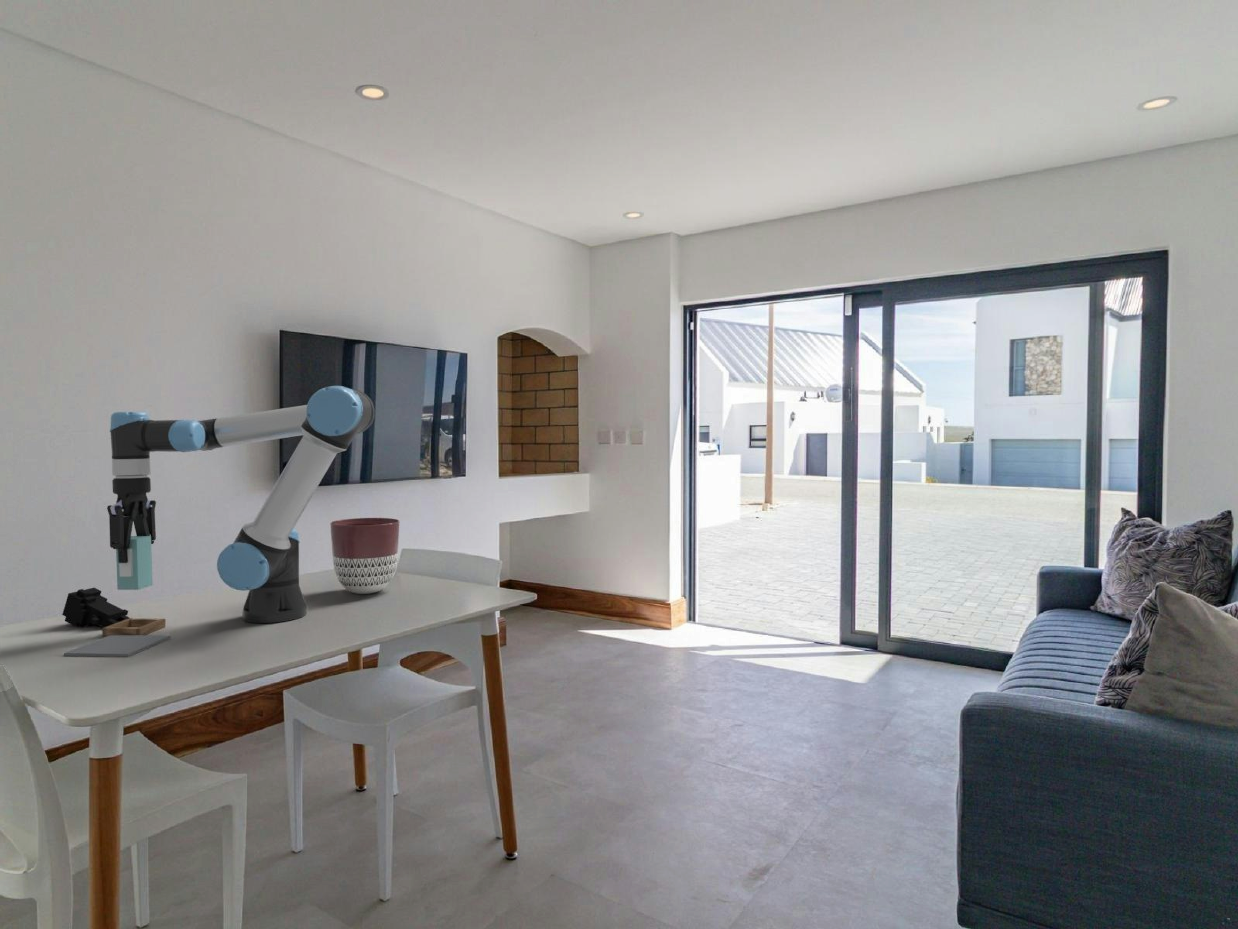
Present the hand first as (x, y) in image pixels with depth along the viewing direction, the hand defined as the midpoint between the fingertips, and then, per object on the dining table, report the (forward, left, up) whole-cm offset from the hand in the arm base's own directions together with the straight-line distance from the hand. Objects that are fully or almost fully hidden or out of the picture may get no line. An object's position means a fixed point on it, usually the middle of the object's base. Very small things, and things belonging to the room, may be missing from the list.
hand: (134, 573), depth 172 cm
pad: (-5, +12, -14) cm, 19 cm away
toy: (+13, -5, -14) cm, 20 cm away
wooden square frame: (0, 0, -14) cm, 14 cm away
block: (0, 0, -3) cm, 3 cm away
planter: (-39, -45, -14) cm, 61 cm away
